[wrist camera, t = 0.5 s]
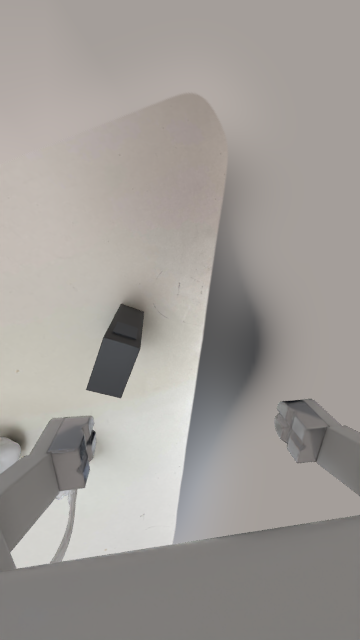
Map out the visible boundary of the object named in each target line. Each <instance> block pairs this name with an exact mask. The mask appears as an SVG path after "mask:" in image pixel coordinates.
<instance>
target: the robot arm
mask: <svg viewBox="0 0 360 640" xmlns="http://www.w3.org/2000/svg"><path fill="white" fill-rule="evenodd" d="M277 410H278V411H279V414H278V415H277V416H276V417H275V422H274V423H275V429H276V432H277V434H278V436H279V437H280V439H281V440H283V441H284V442H286V443H287V449H288V451H289V452H290V454H291V455H292V457H293V458H294V459H295V461H296V462H297V463H305V462H317V464H319V465H320V466H321V467H323V468H324V469H325V470H327V471H328V472H329V473H330V474H332V475H333V476H334V477H336V478H337V479H338V480H340V481H341V482H342V483H343V484H345V485H346V486H347V487H349V488H350V489H351V490H353V491H354V492H355V493H356V494H358V495H359V496H360V432H358V431H356V430H353V429H352V428H349V427H347V426H342V425H341V424H340V423H338V422H337V421H336V420H335V419H334V418H333V417H332V416H331V415H330V414H329V413H327V411H326V410H324V409H323V408H322V407H321V406H320V405H319V404H318V403H317V402H316V401H315V400H312V399H305V400H295V401H283V402H279V404H278V407H277ZM93 426H94V419H93V417H92V416H77V417H63V418H52V419H51V420H50V421H49V422H48V424H47V426H46V427H45V429H44V431H43V432H42V434H41V436H40V438H39V439H38V441H37V443H36V444H35V446H34V448H33V449H32V451H31V453H30V454H29V455H26V456H23V457H22V458H21V459H19V460H18V461H17V462H16V463H14V464H13V465H12V466H10V467H9V468H8V469H6V470H5V471H4V472H2V473H1V474H0V640H360V515H357V516H352V517H345V518H339V519H332V520H325V521H319V522H313V523H307V524H300V525H294V526H287V527H280V528H274V529H268V530H262V531H255V532H248V533H242V534H236V535H230V536H223V537H217V538H210V539H204V540H198V541H191V542H185V543H179V544H172V545H166V546H159V547H153V548H146V549H140V550H134V551H127V552H121V553H114V554H108V555H102V556H95V557H89V558H82V559H76V560H70V561H63V562H57V563H50V564H44V565H38V566H31V567H25V568H18V569H16V566H15V564H14V561H13V559H12V556H11V554H10V552H11V551H12V550H13V548H14V547H15V546H16V545H17V544H18V542H19V541H20V540H21V539H22V538H23V536H24V535H25V534H26V533H27V532H28V530H29V529H30V528H31V527H32V526H33V524H34V523H35V522H36V521H37V520H38V518H39V517H40V516H41V515H42V514H43V512H44V511H45V510H46V509H47V508H48V506H49V505H50V504H51V503H52V502H53V500H54V499H55V498H56V497H57V495H58V494H59V493H60V492H59V491H65V490H72V489H79V488H85V485H86V482H87V478H88V474H89V471H90V466H89V462H90V461H91V460H92V459H93V456H94V453H95V447H96V433H95V431H94V430H93Z"/></svg>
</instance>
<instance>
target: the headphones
mask: <svg viewBox="0 0 360 640" xmlns="http://www.w3.org/2000/svg"><path fill="white" fill-rule="evenodd" d="M20 454H21V447H20V445H19V444H18V443H16V442H14V441H12V440H10V439H9V438H6V437H0V474H1V473H2V472H4V471H5V470H6V469H8V468H9V467H10V466H12V465H13V464H14V463H16V462H17V461H18V460H19V457H20ZM59 492H60V493H59V494H58V495H57V497H56V499H58V500H60V499H62V498H63V497H64V496H66V495H68V501H69V505H70V512H69V519H68V524H67V528H66V531H65V534H64V537H63V540H62V542H61V544H60V546H59V548H58V550H57V552H56V554H55V556H54V557H53V559H52V561H51V562H50V563H57V562H61V561H62V559H63V557H64V554H65V552H66V549H67V547H68V544H69V541H70V537H71V533H72V529H73V523H74V515H75V501H76V495H77V489H72V490H65V491H59Z"/></svg>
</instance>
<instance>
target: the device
mask: <svg viewBox="0 0 360 640" xmlns="http://www.w3.org/2000/svg"><path fill="white" fill-rule="evenodd" d="M143 317H144V312H143V311H140V310H137V309H134V308H131V307H128V306H125V305H123V304H121V305H120V307H119V309H118V311H117V312H116V314H115V316H114V318H113V320H112V322H111V324H110V326H109V328H108V330H107V332H106V334H105V335H104V337H103V340H102V343H101V346H100V349H99V352H98V355H97V358H96V361H95V365H94V368H93V371H92V374H91V377H90V380H89V383H88V386H87V389H86V390H89V391H93V392H97V393H101V394H105V395H110V396H114V397H118V398H121V397H122V394H123V392H124V389H125V387H126V384H127V381H128V379H129V376H130V374H131V371H132V369H133V366H134V363H135V361H136V358H137V356H138V353H139V351H140V347H141V337H142V327H143Z"/></svg>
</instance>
